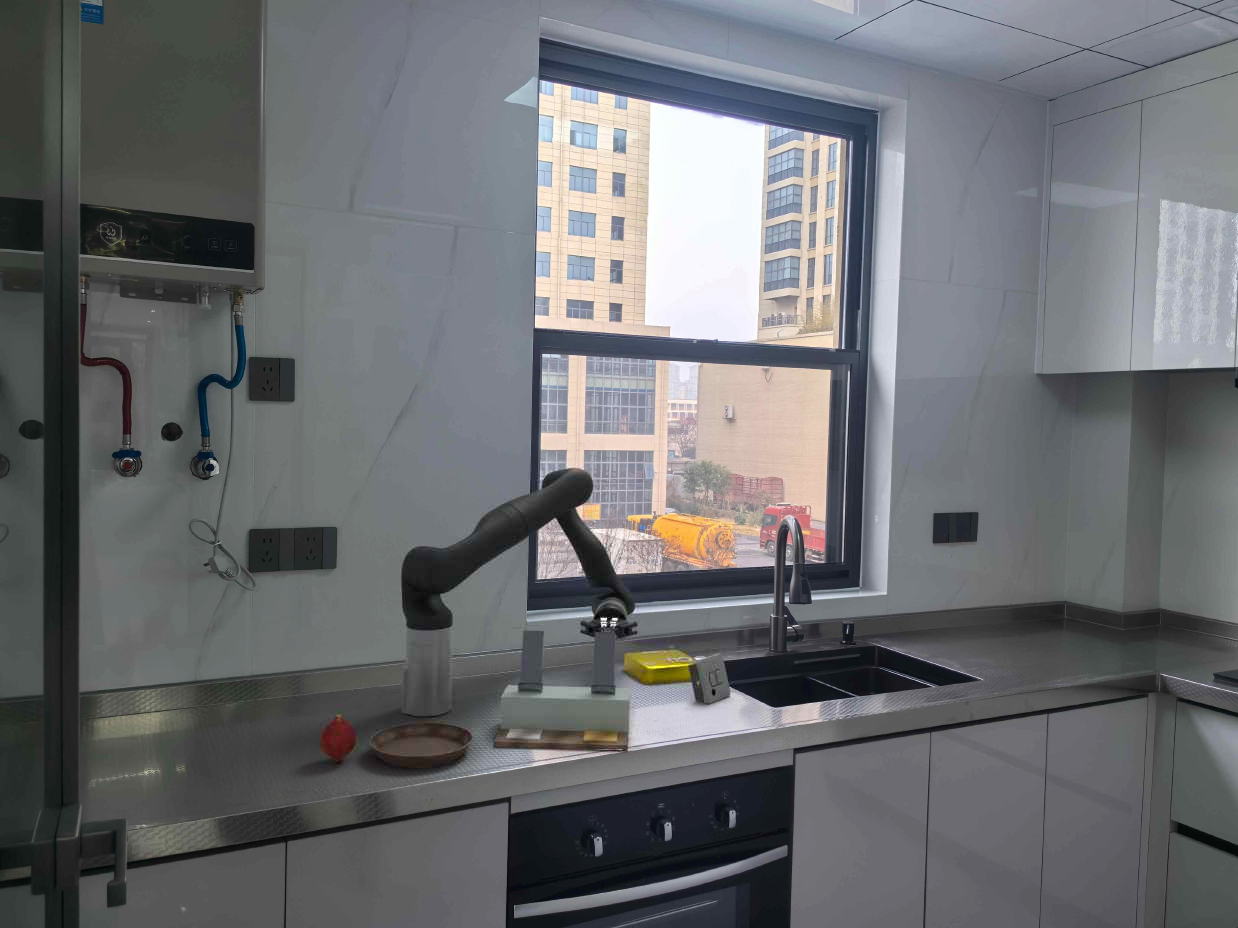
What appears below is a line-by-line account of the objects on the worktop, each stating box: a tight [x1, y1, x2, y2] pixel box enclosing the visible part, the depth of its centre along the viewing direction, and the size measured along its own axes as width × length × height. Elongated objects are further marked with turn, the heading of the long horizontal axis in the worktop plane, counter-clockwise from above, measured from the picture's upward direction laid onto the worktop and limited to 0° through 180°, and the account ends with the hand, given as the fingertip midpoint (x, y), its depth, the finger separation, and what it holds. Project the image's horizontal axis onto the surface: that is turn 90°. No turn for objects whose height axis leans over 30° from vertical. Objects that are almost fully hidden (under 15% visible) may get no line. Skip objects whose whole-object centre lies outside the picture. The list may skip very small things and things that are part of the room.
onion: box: [319, 714, 357, 763], centre depth 145 cm, size 6×6×8 cm
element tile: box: [623, 649, 698, 685], centre depth 205 cm, size 15×15×5 cm
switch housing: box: [500, 684, 631, 732], centre depth 164 cm, size 24×8×6 cm, turn 88°
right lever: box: [590, 632, 617, 693], centre depth 165 cm, size 5×2×11 cm, turn 88°
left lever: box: [518, 629, 545, 691], centre depth 165 cm, size 5×2×11 cm, turn 88°
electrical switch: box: [688, 653, 731, 705], centre depth 186 cm, size 9×5×9 cm, turn 141°
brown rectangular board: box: [493, 728, 630, 750], centre depth 161 cm, size 24×16×1 cm, turn 88°
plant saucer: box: [368, 722, 474, 769], centre depth 149 cm, size 18×18×3 cm
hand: (607, 636), depth 175 cm, fingers closed
